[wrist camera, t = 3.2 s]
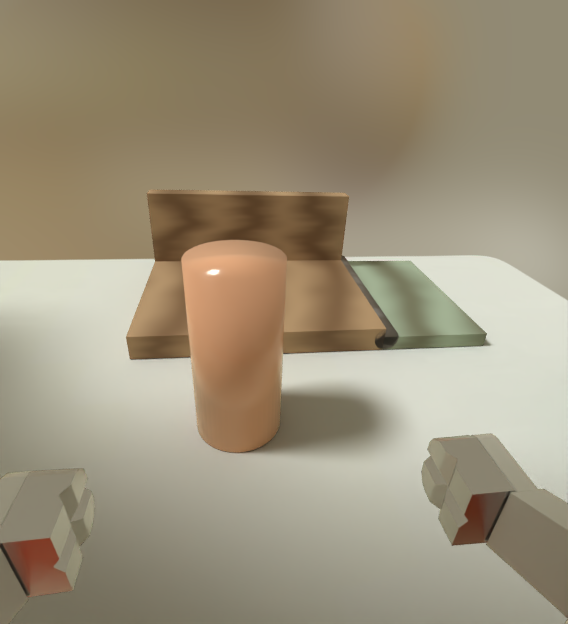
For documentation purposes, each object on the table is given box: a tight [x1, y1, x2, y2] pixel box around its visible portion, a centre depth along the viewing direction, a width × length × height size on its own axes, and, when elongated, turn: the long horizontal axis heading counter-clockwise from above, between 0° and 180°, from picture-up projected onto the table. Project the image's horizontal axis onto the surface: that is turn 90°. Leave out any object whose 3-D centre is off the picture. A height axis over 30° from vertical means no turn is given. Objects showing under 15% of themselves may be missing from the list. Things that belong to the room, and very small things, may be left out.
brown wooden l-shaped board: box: [126, 190, 487, 359], centre depth 37 cm, size 29×16×9 cm, turn 97°
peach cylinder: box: [181, 240, 287, 452], centre depth 23 cm, size 5×5×11 cm
